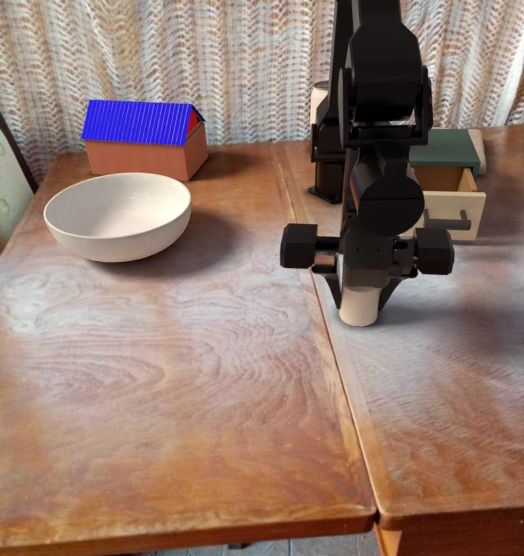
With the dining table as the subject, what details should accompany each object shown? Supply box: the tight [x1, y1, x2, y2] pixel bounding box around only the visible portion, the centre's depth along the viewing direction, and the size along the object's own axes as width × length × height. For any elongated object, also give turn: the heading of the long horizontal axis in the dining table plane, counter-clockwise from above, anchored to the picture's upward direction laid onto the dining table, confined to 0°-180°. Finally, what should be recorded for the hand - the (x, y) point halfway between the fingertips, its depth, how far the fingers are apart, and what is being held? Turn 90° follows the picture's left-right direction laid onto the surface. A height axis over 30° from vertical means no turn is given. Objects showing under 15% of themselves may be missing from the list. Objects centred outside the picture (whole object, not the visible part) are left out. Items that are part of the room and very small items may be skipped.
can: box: [309, 79, 329, 148], centre depth 103 cm, size 6×6×12 cm
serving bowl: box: [43, 173, 193, 263], centre depth 80 cm, size 21×21×7 cm
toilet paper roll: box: [338, 280, 381, 328], centre depth 65 cm, size 5×5×5 cm
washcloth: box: [431, 126, 487, 175], centre depth 101 cm, size 12×18×3 cm, turn 167°
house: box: [80, 98, 209, 182], centre depth 100 cm, size 12×20×12 cm, turn 76°
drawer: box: [400, 166, 487, 241], centre depth 78 cm, size 17×10×7 cm, turn 172°
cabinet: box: [409, 128, 481, 185], centre depth 87 cm, size 14×12×9 cm
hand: (358, 308), depth 66 cm, fingers closed on toilet paper roll, 4 cm apart
